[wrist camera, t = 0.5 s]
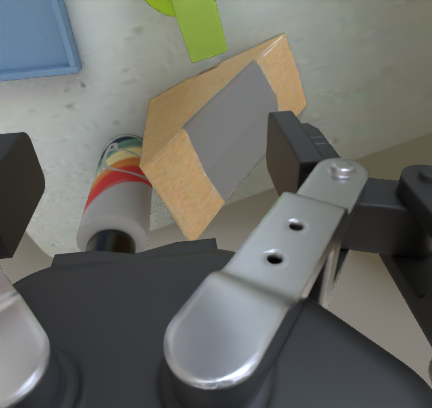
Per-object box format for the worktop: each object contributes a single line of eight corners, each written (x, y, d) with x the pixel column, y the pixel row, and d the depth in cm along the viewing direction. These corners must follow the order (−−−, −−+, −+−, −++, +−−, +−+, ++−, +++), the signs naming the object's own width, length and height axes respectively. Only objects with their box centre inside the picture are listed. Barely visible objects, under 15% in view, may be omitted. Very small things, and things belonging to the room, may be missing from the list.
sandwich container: (308, 106, 41) (368, 175, 29) (185, 162, 44) (191, 248, 31) (285, 29, 36) (344, 73, 24) (147, 98, 39) (138, 169, 26)
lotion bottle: (131, 123, 40) (106, 246, 24) (164, 161, 43) (161, 293, 27) (92, 151, 41) (42, 285, 25) (126, 186, 44) (101, 326, 28)
